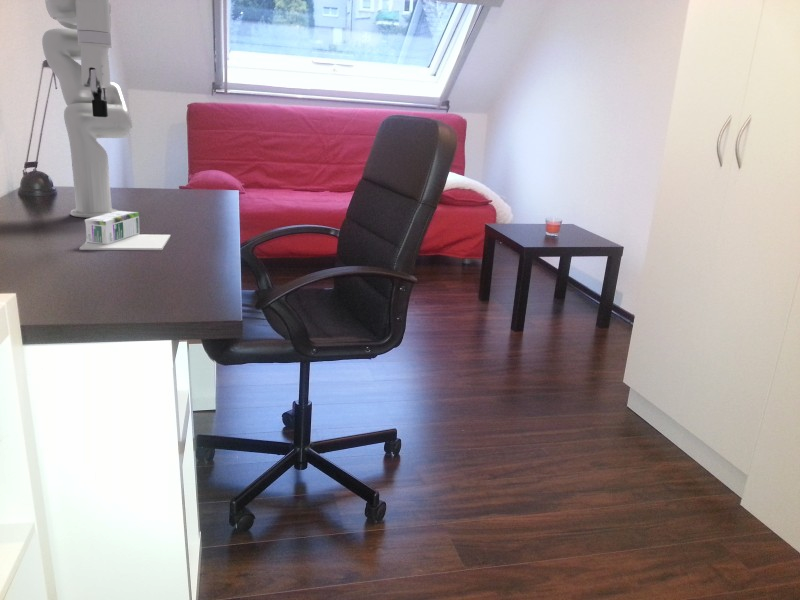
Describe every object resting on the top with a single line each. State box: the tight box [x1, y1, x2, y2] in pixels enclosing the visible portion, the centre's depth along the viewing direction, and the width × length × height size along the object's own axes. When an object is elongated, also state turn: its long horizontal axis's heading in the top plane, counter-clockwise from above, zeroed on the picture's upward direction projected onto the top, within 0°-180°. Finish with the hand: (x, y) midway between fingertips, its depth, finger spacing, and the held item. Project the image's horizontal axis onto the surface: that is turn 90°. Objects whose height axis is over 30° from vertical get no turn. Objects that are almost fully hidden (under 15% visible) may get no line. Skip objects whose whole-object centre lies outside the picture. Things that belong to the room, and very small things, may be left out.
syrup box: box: [84, 210, 141, 244], centre depth 159 cm, size 6×6×14 cm
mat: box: [78, 233, 171, 251], centre depth 158 cm, size 16×18×1 cm
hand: (100, 116), depth 165 cm, fingers closed
